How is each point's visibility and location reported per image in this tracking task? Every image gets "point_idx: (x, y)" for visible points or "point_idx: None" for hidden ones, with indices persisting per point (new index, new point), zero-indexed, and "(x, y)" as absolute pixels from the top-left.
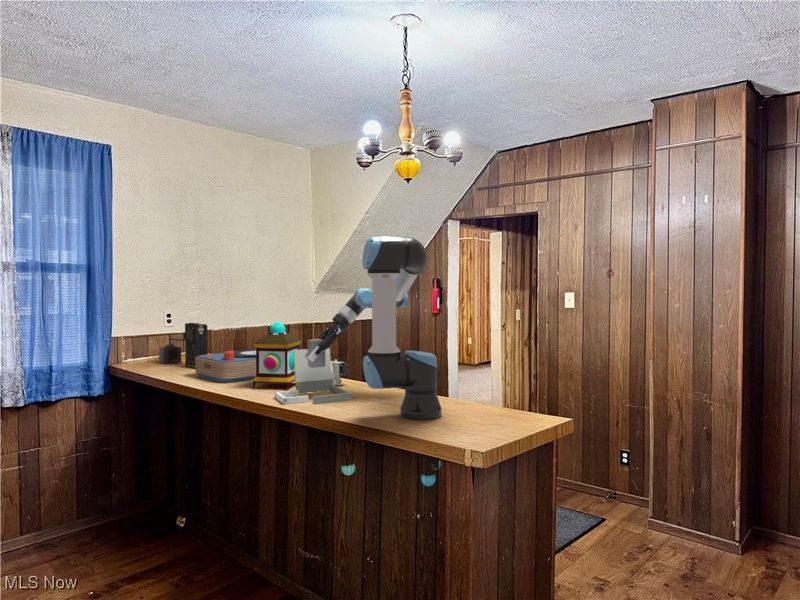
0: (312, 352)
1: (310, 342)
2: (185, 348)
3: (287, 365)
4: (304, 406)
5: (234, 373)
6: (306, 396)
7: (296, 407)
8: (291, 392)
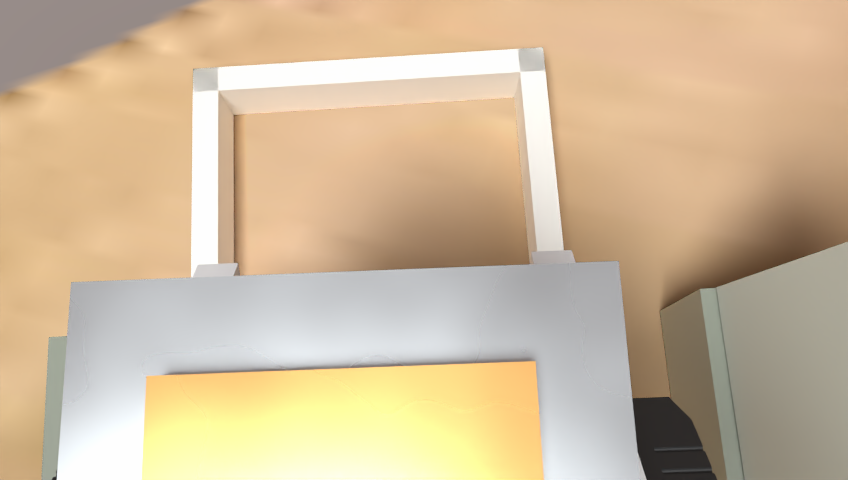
0: None
1: (194, 287)
2: None
3: None
4: (46, 244)
5: None
6: None
7: (44, 168)
8: (532, 218)
